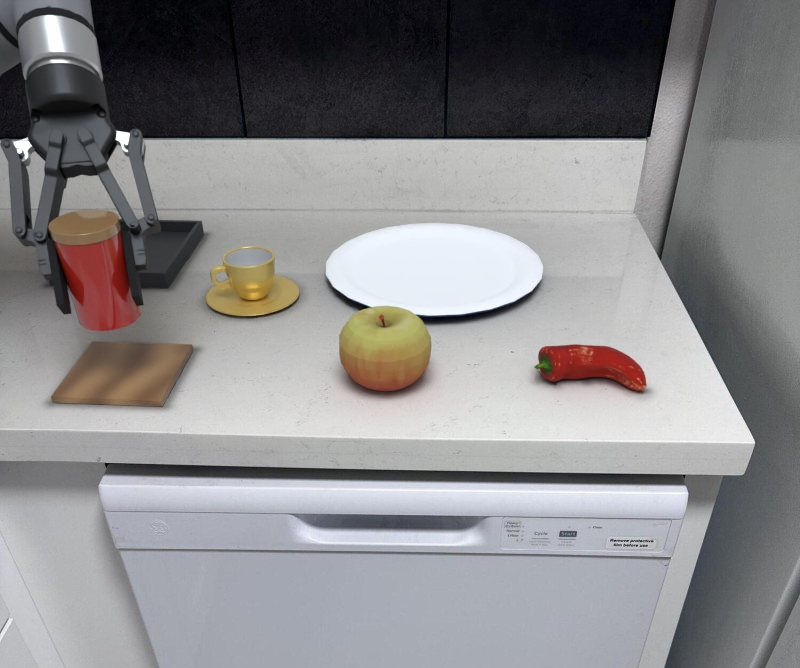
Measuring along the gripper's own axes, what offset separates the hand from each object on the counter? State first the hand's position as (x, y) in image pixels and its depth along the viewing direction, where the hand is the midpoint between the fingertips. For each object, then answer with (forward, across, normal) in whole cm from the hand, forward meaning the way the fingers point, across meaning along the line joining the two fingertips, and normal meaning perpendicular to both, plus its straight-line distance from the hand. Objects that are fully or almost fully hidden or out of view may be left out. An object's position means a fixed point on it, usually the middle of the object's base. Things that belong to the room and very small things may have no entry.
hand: (101, 304), depth 79 cm
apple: (+10, -28, -4) cm, 30 cm away
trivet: (+5, 0, -10) cm, 11 cm away
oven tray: (-18, 0, -33) cm, 38 cm away
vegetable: (+15, -49, 0) cm, 51 cm away
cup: (-6, -16, -21) cm, 27 cm away
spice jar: (0, 0, -5) cm, 5 cm away
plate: (-7, -40, -22) cm, 46 cm away
